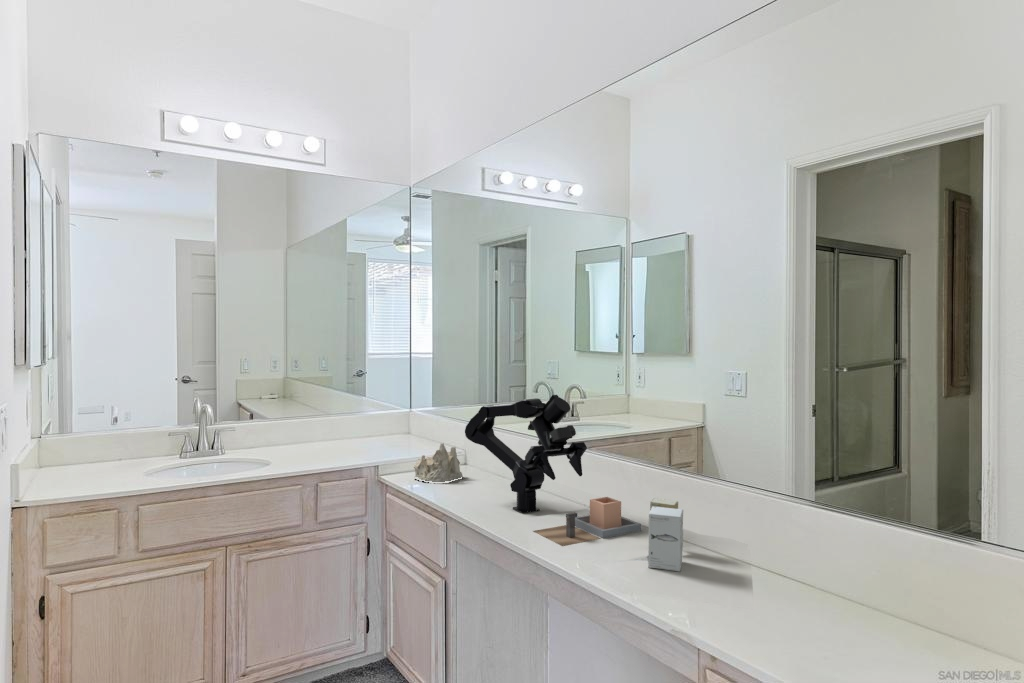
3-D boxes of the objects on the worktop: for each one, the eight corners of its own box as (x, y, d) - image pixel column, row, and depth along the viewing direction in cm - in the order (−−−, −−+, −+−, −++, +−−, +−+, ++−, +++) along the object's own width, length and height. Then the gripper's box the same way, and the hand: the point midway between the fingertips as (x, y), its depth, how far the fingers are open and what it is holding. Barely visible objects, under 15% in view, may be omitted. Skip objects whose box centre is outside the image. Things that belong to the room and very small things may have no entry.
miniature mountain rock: (469, 478, 234) (466, 438, 234) (436, 487, 222) (433, 445, 222) (441, 474, 244) (438, 437, 245) (409, 483, 232) (406, 443, 232)
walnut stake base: (532, 536, 164) (532, 508, 164) (569, 529, 170) (569, 502, 170) (562, 552, 151) (562, 521, 152) (601, 544, 157) (601, 515, 157)
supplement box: (647, 568, 141) (647, 513, 141) (651, 557, 148) (651, 505, 148) (680, 572, 138) (680, 516, 138) (683, 561, 145) (683, 508, 145)
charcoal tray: (570, 529, 170) (570, 517, 170) (608, 522, 176) (608, 511, 176) (602, 544, 158) (602, 531, 158) (641, 536, 164) (641, 523, 164)
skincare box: (648, 550, 153) (648, 501, 153) (653, 545, 157) (653, 497, 157) (674, 554, 150) (674, 504, 150) (678, 549, 154) (678, 500, 154)
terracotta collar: (586, 527, 169) (586, 498, 169) (603, 524, 172) (603, 495, 172) (603, 534, 163) (603, 504, 163) (621, 531, 166) (621, 501, 166)
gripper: (530, 418, 174) (551, 463, 164) (583, 414, 183) (606, 457, 173) (516, 442, 181) (535, 487, 171) (568, 437, 190) (589, 480, 180)
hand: (568, 477), depth 174 cm, fingers open, 9 cm apart
